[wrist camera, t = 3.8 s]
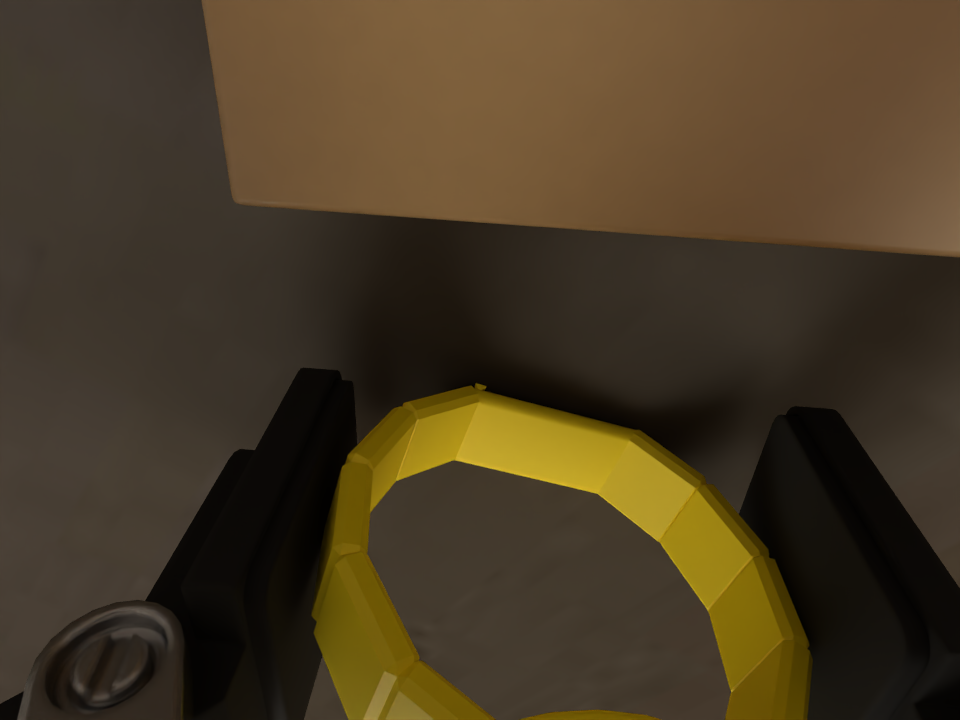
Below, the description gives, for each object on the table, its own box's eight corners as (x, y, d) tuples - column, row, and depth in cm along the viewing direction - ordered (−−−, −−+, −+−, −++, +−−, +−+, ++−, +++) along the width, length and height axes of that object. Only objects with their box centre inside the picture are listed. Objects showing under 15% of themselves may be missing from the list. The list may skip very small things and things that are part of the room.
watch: (356, 446, 11) (211, 861, 6) (396, 309, 10) (250, 704, 4) (676, 539, 12) (791, 982, 7) (759, 426, 10) (987, 880, 5)
